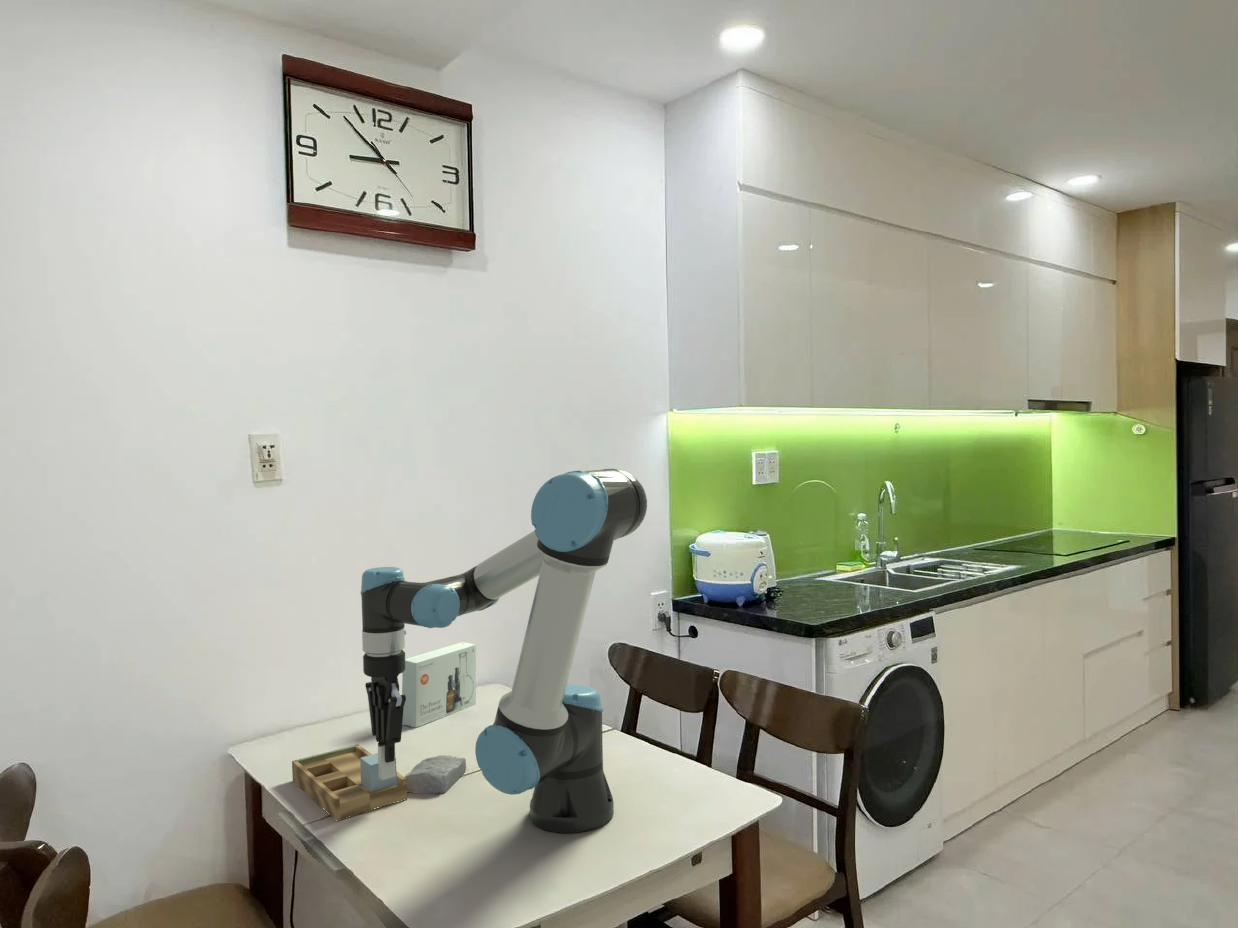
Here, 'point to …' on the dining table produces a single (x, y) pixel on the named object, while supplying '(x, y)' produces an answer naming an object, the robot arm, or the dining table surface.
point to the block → (374, 774)
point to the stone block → (435, 774)
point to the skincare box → (439, 683)
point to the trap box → (343, 783)
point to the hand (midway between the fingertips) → (387, 776)
